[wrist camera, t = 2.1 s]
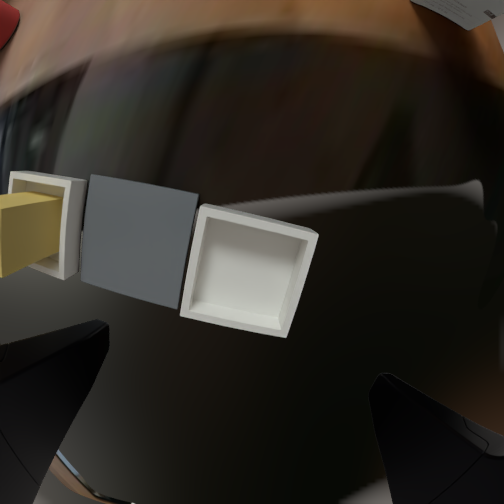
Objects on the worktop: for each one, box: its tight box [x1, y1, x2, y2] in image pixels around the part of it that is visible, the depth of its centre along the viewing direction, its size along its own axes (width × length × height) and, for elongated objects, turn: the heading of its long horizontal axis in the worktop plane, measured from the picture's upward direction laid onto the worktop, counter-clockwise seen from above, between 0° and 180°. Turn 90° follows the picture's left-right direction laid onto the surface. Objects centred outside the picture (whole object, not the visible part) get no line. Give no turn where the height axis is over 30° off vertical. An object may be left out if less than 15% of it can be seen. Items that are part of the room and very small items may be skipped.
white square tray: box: [180, 203, 319, 338], centre depth 17 cm, size 7×7×2 cm
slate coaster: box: [81, 174, 200, 309], centre depth 18 cm, size 8×8×1 cm
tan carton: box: [0, 191, 64, 278], centre depth 13 cm, size 4×4×7 cm
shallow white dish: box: [8, 171, 88, 280], centre depth 16 cm, size 7×7×2 cm
